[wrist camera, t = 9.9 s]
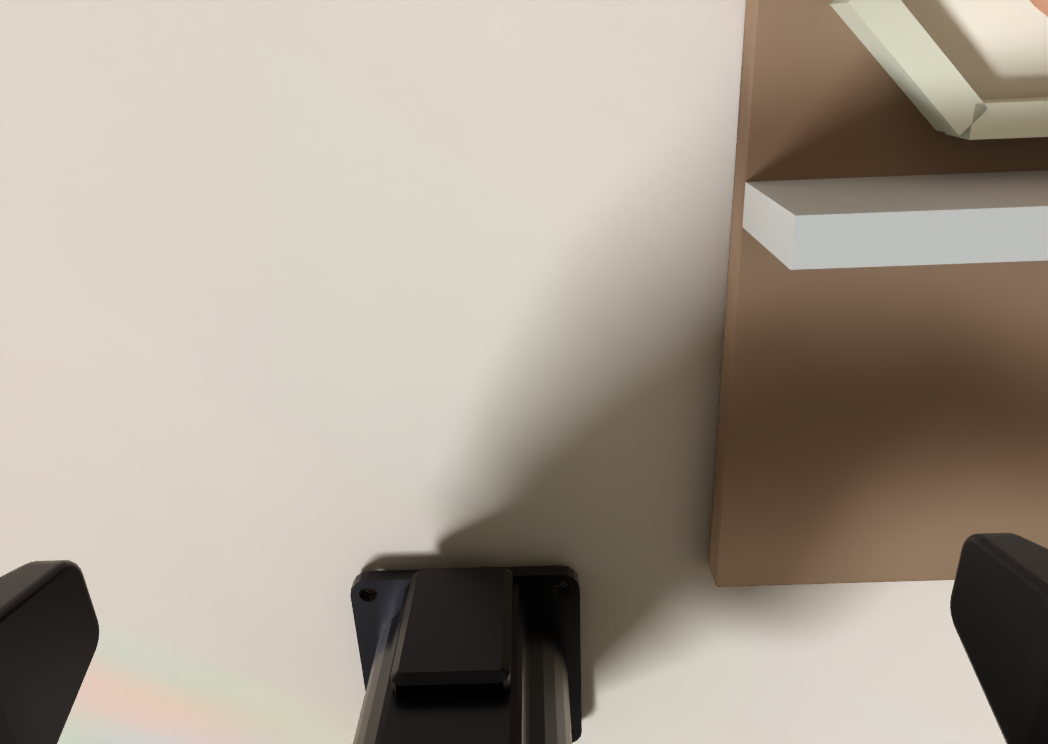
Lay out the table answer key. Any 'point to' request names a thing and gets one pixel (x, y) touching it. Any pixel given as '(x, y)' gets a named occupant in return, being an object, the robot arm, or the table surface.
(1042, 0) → the rubber ball
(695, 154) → the table surface
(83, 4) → the table surface
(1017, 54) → the ring
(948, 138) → the fence board
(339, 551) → the table surface
